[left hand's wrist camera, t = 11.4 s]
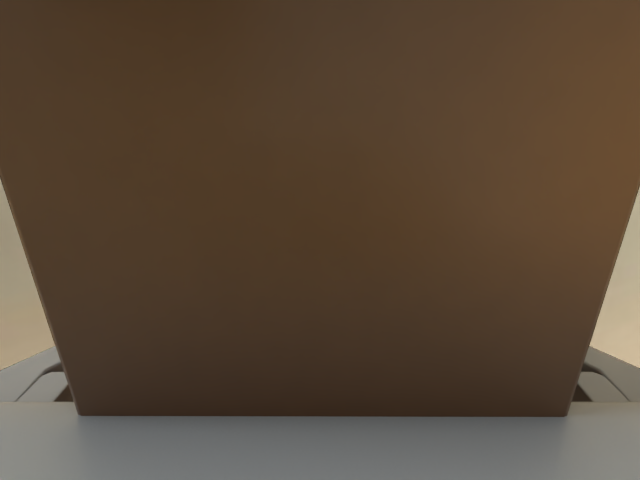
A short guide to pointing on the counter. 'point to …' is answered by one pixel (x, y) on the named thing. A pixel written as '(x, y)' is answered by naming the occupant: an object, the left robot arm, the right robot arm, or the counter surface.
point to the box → (321, 198)
